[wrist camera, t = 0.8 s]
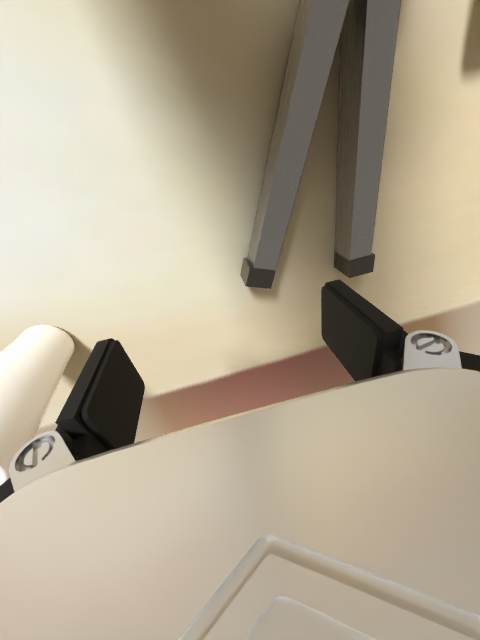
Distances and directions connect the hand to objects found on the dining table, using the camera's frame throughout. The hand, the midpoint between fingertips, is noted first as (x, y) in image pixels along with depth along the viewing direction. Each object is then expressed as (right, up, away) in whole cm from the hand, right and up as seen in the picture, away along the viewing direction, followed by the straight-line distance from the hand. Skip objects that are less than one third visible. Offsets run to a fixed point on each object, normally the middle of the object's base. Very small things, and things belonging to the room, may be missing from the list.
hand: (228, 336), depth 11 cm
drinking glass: (-22, -2, +18) cm, 28 cm away
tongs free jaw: (+4, +15, +12) cm, 19 cm away
